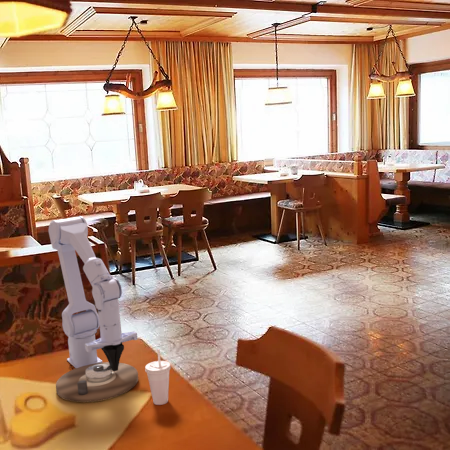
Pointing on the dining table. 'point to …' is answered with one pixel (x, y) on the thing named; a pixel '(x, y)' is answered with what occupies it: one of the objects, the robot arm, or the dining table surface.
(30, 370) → the dining table surface
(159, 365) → the smoothie
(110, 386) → the turntable
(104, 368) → the cover
